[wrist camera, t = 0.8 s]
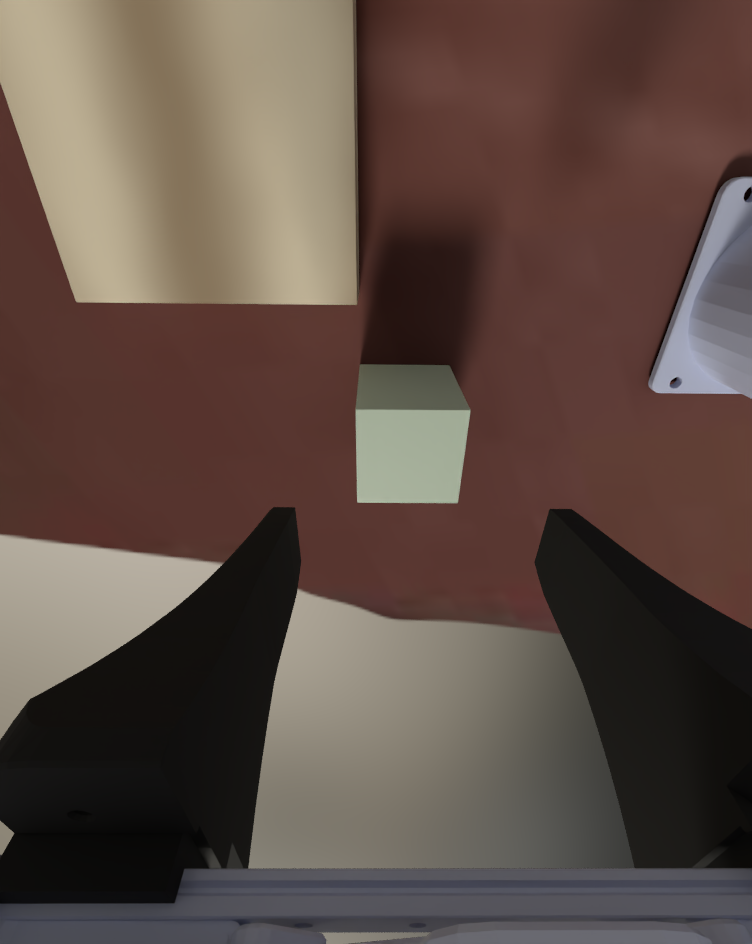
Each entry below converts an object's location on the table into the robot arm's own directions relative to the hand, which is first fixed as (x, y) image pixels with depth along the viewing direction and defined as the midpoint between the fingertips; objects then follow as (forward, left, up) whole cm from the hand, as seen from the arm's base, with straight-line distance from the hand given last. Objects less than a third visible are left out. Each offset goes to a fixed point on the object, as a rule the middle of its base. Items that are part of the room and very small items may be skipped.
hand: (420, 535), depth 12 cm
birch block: (+7, -10, -10) cm, 16 cm away
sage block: (0, 0, -9) cm, 9 cm away
